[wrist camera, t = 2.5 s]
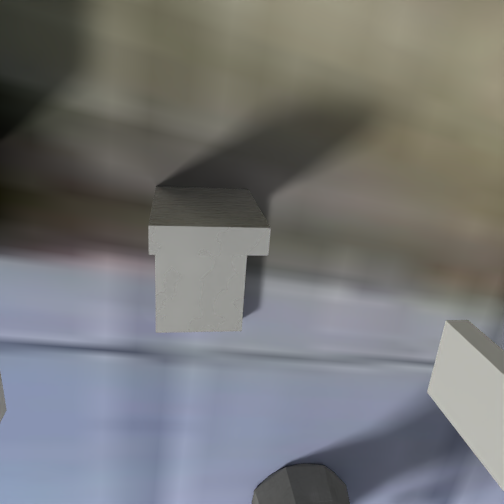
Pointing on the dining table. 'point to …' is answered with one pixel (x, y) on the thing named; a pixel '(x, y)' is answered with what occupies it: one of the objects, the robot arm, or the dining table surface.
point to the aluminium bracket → (203, 256)
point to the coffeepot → (302, 486)
